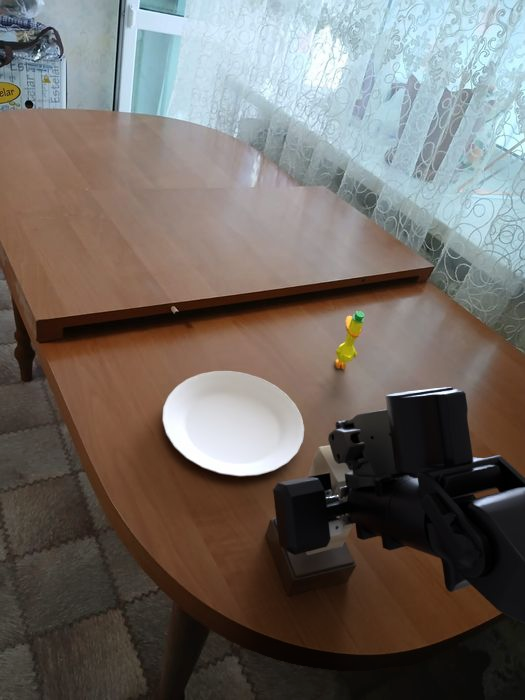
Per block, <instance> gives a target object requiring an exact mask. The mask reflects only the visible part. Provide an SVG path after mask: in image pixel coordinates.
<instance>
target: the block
mask: <svg viewBox="0 0 525 700" xmlns="http://www.w3.org/2000/svg"><path fill="white" fill-rule="evenodd" d="M349 472H353V470H349V468H348V466H347V464H345V463H341V464H338V463H337V462H336V461H335V460H334V457H333V454H332V451H331V447H330V444H328V445H323V446H319V447H318V448H317V449H316V453H315V455H314V458H313V461H312V464H311V467H310V469H309V472H308V475H307V477H310V476H315V475H320V474H325V473H330V477H331V485H332V492H333V495H337V496H339V493H338V489H339V488H340V487H344V486H346V481H345V473H349ZM346 498H347V497H346ZM346 498H344V497H343V499H346ZM339 500H341V498H340V497H339ZM343 515H344V514H343ZM346 515H347V514H346ZM337 518H340V516H339V517H337ZM353 526H354V524H351V525H347V526H345V527H344V529H343V532H342V533H341V534H340V535H337V536H333V537H330V538H331V539H330V541H329V544H328V546H327V547H324V548H320V549H316V550H312V551H308V552H306V553H307V555H310V554H314V553H318V552H322V551H326V550H330V549H334V548H338V547H341V546H343V544H344V542H345V543H346V540H347V539H348V536H349V534H350V532H351V530H352V528H353Z"/></svg>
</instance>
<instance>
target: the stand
mask: <svg viewBox="0 0 525 700" xmlns="http://www.w3.org/2000/svg"><path fill="white" fill-rule="evenodd" d="M264 536H265V539H266V542H267V545H268V547H269V550H270V554H271V555H272V559H273V561H274V565H275V567H276V569H277V573H278V575H279V577H280V580H281V583H282V585H283V590H284V591H285V595H286V596H287V597H289V596H294V595H297V594H302V593H305V592H310V591H315V590H318V589H321V588H326V587H330V586H333V585H337V584H338V585H339V584H342V583H346V582H349V580H350V579H351V577H352V575H353V573H354V571H355V569H356V567H357V564H356V562H355V559H354V557H353V555H352V553H351V551H350V549H349V547H348V545H347V543H346V541H345V542H344V544H343V546H341V547H338V548H334V549H330V550H326V551H322V552H318V553H314V554H310V555H307V553H306V552H305V553H301V554H297V555H293V554H291V553H290V552H288V551H286V550H285V549H283V548H282V547H281V546H279V537H278V529H277V520H276V517H274V518H270V519H269V523H268V526H267V528H266V532H265V534H264Z"/></svg>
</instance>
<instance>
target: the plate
mask: <svg viewBox="0 0 525 700" xmlns="http://www.w3.org/2000/svg"><path fill="white" fill-rule="evenodd" d="M161 421H162V424H163V427H164V431H165V435H166V436H167V438H168V440H169V441H170V442H171V445H173V447H174V448H175V449H176V450H177V452H179V453H180V454H181V455H182V456H183V457H184V458H186V460H189V461H190V462H192V463H193V464H195V465H197V466H199V467H201V468H203V469H206V470H208V471H211V472H214V473H217V474H219V475H220V474H221V475H226V476H233V477H253V476H260V475H263V474H267V473H270V472H274V471H276V470H278V469H280V468H282V467H283V466H285V465H287V464H288V463H289V462H290V461H291V460H292V459H293V458H294V457H295V456H296V455H297V454H298V452H299V451H300V448H301V445H302V444H303V442H304V435H305V426H304V422H303V421H304V420H303V415H302V414H301V412H300V410H299V408H298V406H297V404H296V403H295V402H294V401H293V400H292V399H291V397H289V395H288V394H287V393H286V392H284V391H283V390H282V389H280V388H279V387H278V386H277V385H275V384H273V383H271V382H270V381H267V380H265V379H264V378H262V377H259V376H255V375H253V374H252V375H251V374H249V373H247V372H246V373H245V372H239V371H233V370H215V371H209V372H203V373H202V372H201V373H198V374H196V375H194V376H191V377H189V378H186V379H185V380H183V381H182V382H181V383H179V384H178V385H176V387H174V389H173V390H172V391H171V392H170V393H169V394H168V395H167V398H166V400H165V403H164V405H163V407H162V420H161Z"/></svg>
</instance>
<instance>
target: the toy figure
mask: <svg viewBox="0 0 525 700" xmlns="http://www.w3.org/2000/svg"><path fill="white" fill-rule="evenodd" d="M365 316H366V314H365V313H364V311H361V310H356V311H355V313H354V314H352V315H348V316H346V318H345V330H346V337H345V339H344V340H345V341H344V342H343V343H340V344H339V347H338V348H337V349H336V350H335V355H336V357H337V359H335V361H334V365H335V367H336V369H342V370H345V369H346V365H347V364H348V363H350V362H352V360H353V358H354V359H356V358H357V356H358V351H357V350H356V348H355V346H354V344H355V343H356V341H357V339H358V338H359V337H360V336H361V333H362V331H363V328H362V327H363V324H364V322H365Z"/></svg>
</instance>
